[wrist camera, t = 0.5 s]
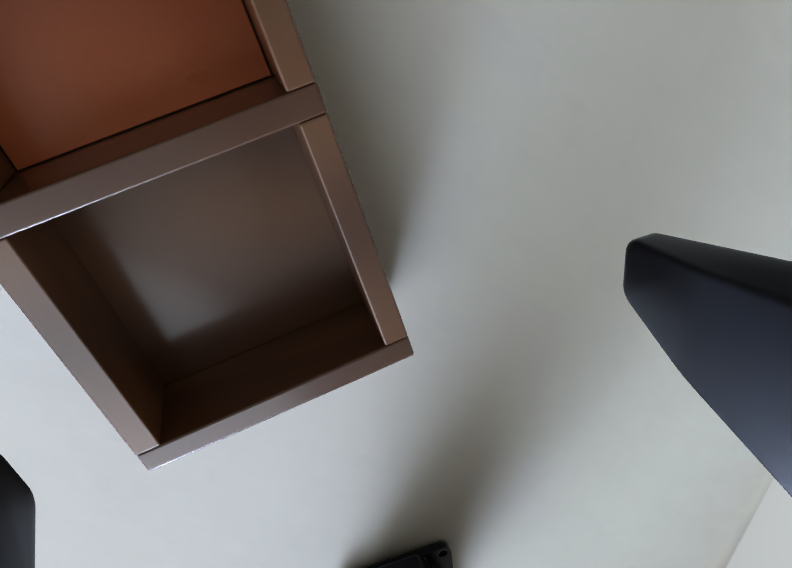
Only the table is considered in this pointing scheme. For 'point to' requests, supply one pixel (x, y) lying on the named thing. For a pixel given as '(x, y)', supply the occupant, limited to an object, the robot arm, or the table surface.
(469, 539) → the table surface
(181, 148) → the divided wooden tray
